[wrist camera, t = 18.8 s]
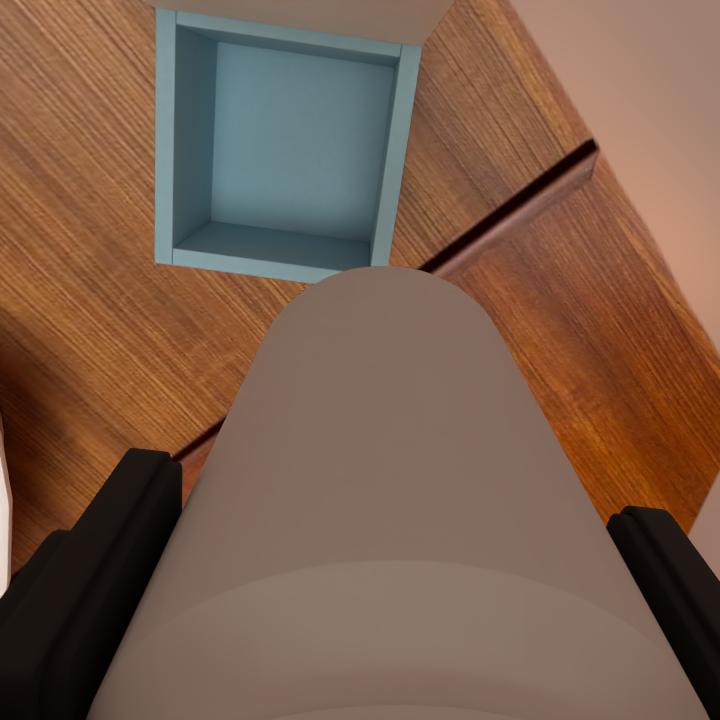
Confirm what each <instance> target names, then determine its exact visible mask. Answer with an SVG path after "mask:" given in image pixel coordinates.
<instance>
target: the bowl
mask: <svg viewBox="0 0 720 720" xmlns="http://www.w3.org/2000/svg"><path fill="white" fill-rule="evenodd" d="M12 506H13V499H12V493H11V487H10V481H9V475H8V470H7V464H6V458H5V452H4V430H3V424H2V418H1V412H0V598H1V597H2V595H3V594H4V593H5V591H6V590H7V589H8V586H9V582H10V579H11V545H12Z"/></svg>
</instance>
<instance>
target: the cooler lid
mask: <svg viewBox="0 0 720 720" xmlns="http://www.w3.org/2000/svg"><path fill="white" fill-rule="evenodd" d="M141 1H143V2H145V3H146V4H148V5H150V6H152V7H157V8H163V9H170V10H177V11H184V12H191V13H197V14H204V15H211V16H218V17H224V18H231V19H238V20H245V21H251V22H258V23H265V24H272V25H278V26H285V27H292V28H299V29H306V30H312V31H319V32H326V33H333V34H339V35H346V36H353V37H360V38H366V39H373V40H380V41H387V42H393V43H400V44H407V45H414V46H423V45H424V43H425V42H426V41H427V39H428V38H429V36H430V35H431V34H432V32H433V31H434V29H435V28H436V27H437V25H438V24H439V23H440V21H441V20H442V18H443V17H444V16H445V14H446V13H447V11H448V10H449V9H450V7H451V6H452V5H453V3H454V2H455V0H141Z"/></svg>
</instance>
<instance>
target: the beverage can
mask: <svg viewBox="0 0 720 720" xmlns="http://www.w3.org/2000/svg"><path fill="white" fill-rule="evenodd" d="M86 720H710V719H709V717H708V715H707V713H706V711H705V709H704V707H703V705H702V703H701V701H700V700H699V698H698V696H697V694H696V692H695V690H694V689H693V687H692V685H691V683H690V681H689V679H688V678H687V676H686V674H685V672H684V670H683V668H682V667H681V665H680V663H679V661H678V659H677V657H676V656H675V654H674V652H673V650H672V648H671V646H670V645H669V643H668V641H667V639H666V637H665V635H664V634H663V632H662V630H661V628H660V626H659V624H658V623H657V621H656V619H655V617H654V615H653V613H652V612H651V610H650V608H649V606H648V604H647V602H646V601H645V599H644V597H643V595H642V593H641V591H640V590H639V588H638V586H637V584H636V582H635V580H634V579H633V577H632V575H631V573H630V571H629V570H628V568H627V566H626V564H625V562H624V560H623V559H622V557H621V555H620V553H619V551H618V549H617V548H616V546H615V544H614V542H613V540H612V538H611V537H610V535H609V533H608V531H607V529H606V527H605V526H604V524H603V522H602V520H601V518H600V516H599V515H598V513H597V511H596V509H595V507H594V505H593V504H592V502H591V500H590V498H589V496H588V494H587V493H586V491H585V489H584V487H583V485H582V483H581V482H580V480H579V478H578V476H577V474H576V472H575V471H574V469H573V467H572V465H571V463H570V461H569V460H568V458H567V456H566V454H565V452H564V450H563V449H562V447H561V445H560V443H559V441H558V440H557V438H556V436H555V434H554V432H553V430H552V429H551V427H550V425H549V423H548V421H547V419H546V418H545V416H544V414H543V412H542V410H541V408H540V407H539V405H538V403H537V401H536V399H535V397H534V396H533V394H532V392H531V390H530V388H529V386H528V385H527V383H526V381H525V379H524V377H523V375H522V374H521V372H520V370H519V368H518V366H517V364H516V363H515V361H514V359H513V357H512V355H511V353H510V352H509V350H508V348H507V346H506V344H505V342H504V341H503V339H502V337H501V335H500V333H499V332H498V330H497V328H496V326H495V325H494V323H493V321H492V320H491V318H490V317H489V315H488V314H487V313H486V312H485V310H484V309H483V308H482V307H481V306H480V305H479V304H478V303H477V302H476V301H475V300H474V299H472V298H471V297H470V296H469V295H468V294H466V293H465V292H464V291H462V290H461V289H459V288H458V287H456V286H455V285H453V284H451V283H450V282H448V281H446V280H444V279H442V278H439V277H437V276H434V275H432V274H429V273H427V272H423V271H420V270H415V269H411V268H406V267H399V266H370V267H362V268H355V269H351V270H347V271H344V272H340V273H337V274H334V275H332V276H329V277H327V278H325V279H323V280H321V281H319V282H317V283H315V284H313V285H312V286H310V287H309V288H307V289H306V290H304V291H303V292H301V293H300V294H299V295H297V296H296V297H295V298H294V299H293V300H291V301H290V302H289V303H288V304H287V306H286V307H285V308H284V309H283V310H282V311H281V312H280V313H279V314H278V316H277V317H276V318H275V320H274V321H273V323H272V324H271V326H270V328H269V329H268V331H267V332H266V334H265V336H264V338H263V341H262V343H261V345H260V347H259V349H258V351H257V353H256V355H255V358H254V360H253V362H252V364H251V366H250V368H249V370H248V372H247V375H246V377H245V379H244V381H243V383H242V385H241V387H240V389H239V392H238V394H237V396H236V398H235V400H234V402H233V404H232V407H231V409H230V411H229V413H228V415H227V417H226V419H225V421H224V424H223V426H222V428H221V430H220V432H219V434H218V436H217V438H216V441H215V443H214V445H213V447H212V449H211V451H210V453H209V455H208V458H207V460H206V462H205V464H204V466H203V468H202V470H201V472H200V475H199V477H198V479H197V481H196V483H195V485H194V487H193V489H192V492H191V494H190V496H189V498H188V500H187V502H186V504H185V507H184V509H183V511H182V513H181V515H180V517H179V519H178V521H177V524H176V526H175V528H174V530H173V532H172V534H171V536H170V538H169V541H168V543H167V545H166V547H165V549H164V551H163V553H162V555H161V558H160V560H159V562H158V564H157V566H156V568H155V570H154V572H153V575H152V577H151V579H150V581H149V583H148V585H147V587H146V589H145V592H144V594H143V596H142V598H141V600H140V602H139V604H138V607H137V609H136V611H135V613H134V615H133V617H132V619H131V621H130V624H129V626H128V628H127V630H126V632H125V634H124V636H123V638H122V641H121V643H120V645H119V647H118V649H117V651H116V653H115V655H114V658H113V660H112V662H111V664H110V666H109V668H108V670H107V672H106V675H105V677H104V679H103V681H102V683H101V685H100V687H99V689H98V692H97V694H96V696H95V698H94V700H93V702H92V705H91V708H90V710H89V713H88V715H87V718H86Z"/></svg>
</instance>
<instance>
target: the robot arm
mask: <svg viewBox="0 0 720 720" xmlns="http://www.w3.org/2000/svg"><path fill="white" fill-rule="evenodd" d="M181 513H182V465H181V464H180V463H175V462H171V457H170V454H169V453H168V452H164V451H155V450H146V449H138V448H130V449H129V450H128V451H127V452H126V454H125V455H124V456H123V458H122V459H121V461H120V462H119V463H118V465H117V466H116V468H115V469H114V470H113V472H112V473H111V475H110V476H109V478H108V479H107V480H106V482H105V483H104V485H103V486H102V487H101V489H100V490H99V492H98V493H97V494H96V496H95V497H94V499H93V500H92V501H91V503H90V504H89V506H88V507H87V509H86V510H85V511H84V513H83V514H82V516H81V517H80V518H79V520H78V521H77V523H76V524H75V525H74V527H73V528H72V530H71V531H69V530H60V529H58V530H55V531H53V532H51V533H50V535H49V536H48V537H47V538H46V539H45V540H44V541H43V542H42V544H41V545H40V546H39V548H38V549H37V550H36V552H35V553H34V554H33V556H32V557H31V558H30V560H29V561H28V562H27V564H26V565H25V566H24V568H23V569H22V570H21V572H20V573H19V574H18V576H17V577H16V578H15V580H14V581H13V582H12V583H11V585H10V586H9V587H8V589H7V590H6V591H5V593H4V594H3V595H2V597H1V598H0V720H86V718H87V715H88V713H89V710H90V708H91V705H92V702H93V700H94V698H95V696H96V694H97V692H98V689H99V687H100V685H101V683H102V681H103V679H104V677H105V675H106V672H107V670H108V668H109V666H110V664H111V662H112V660H113V658H114V655H115V653H116V651H117V649H118V647H119V645H120V643H121V641H122V638H123V636H124V634H125V632H126V630H127V628H128V626H129V624H130V621H131V619H132V617H133V615H134V613H135V611H136V609H137V607H138V604H139V602H140V600H141V598H142V596H143V594H144V592H145V589H146V587H147V585H148V583H149V581H150V579H151V577H152V575H153V572H154V570H155V568H156V566H157V564H158V562H159V560H160V558H161V555H162V553H163V551H164V549H165V547H166V545H167V543H168V541H169V538H170V536H171V534H172V532H173V530H174V528H175V526H176V524H177V521H178V519H179V517H180V515H181ZM606 529H607V531H608V533H609V535H610V537H611V538H612V540H613V542H614V544H615V546H616V548H617V549H618V551H619V553H620V555H621V557H622V559H623V560H624V562H625V564H626V566H627V568H628V570H629V571H630V573H631V575H632V577H633V579H634V580H635V582H636V584H637V586H638V588H639V590H640V591H641V593H642V595H643V597H644V599H645V601H646V602H647V604H648V606H649V608H650V610H651V612H652V613H653V615H654V617H655V619H656V621H657V623H658V624H659V626H660V628H661V630H662V632H663V634H664V635H665V637H666V639H667V641H668V643H669V645H670V646H671V648H672V650H673V652H674V654H675V656H676V657H677V659H678V661H679V663H680V665H681V667H682V668H683V670H684V672H685V674H686V676H687V678H688V679H689V681H690V683H691V685H692V687H693V689H694V690H695V692H696V694H697V696H698V698H699V700H700V701H701V703H702V705H703V707H704V709H705V711H706V713H707V715H708V717H709V719H710V720H720V581H719V580H718V578H717V577H716V576H715V574H714V573H713V572H712V570H711V569H710V568H709V566H708V565H707V563H706V562H705V561H704V559H703V558H702V556H701V555H700V554H699V552H698V551H697V550H696V548H695V547H694V546H693V544H692V543H691V541H690V540H689V539H688V537H687V536H686V534H685V533H684V532H683V530H682V529H681V528H680V526H679V525H678V523H677V522H676V521H675V519H674V518H673V517H672V515H671V514H670V513H669V512H668V511H666V510H663V509H655V508H646V507H638V506H626V507H625V508H624V509H623V510H622V511H621V513H620V514H617V513H616V514H613V515H612V516H611V517H610V519H609V521H608V524H607V527H606Z"/></svg>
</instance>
